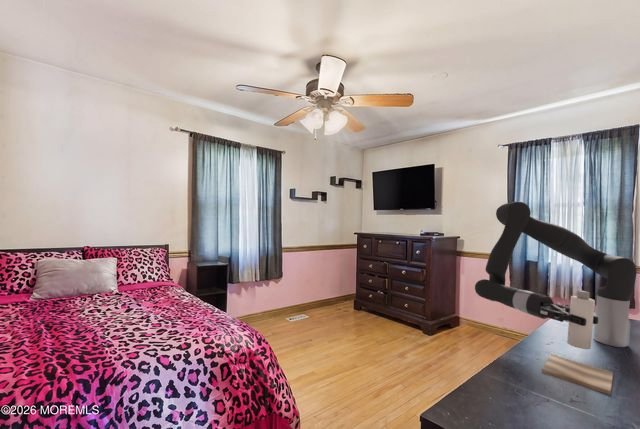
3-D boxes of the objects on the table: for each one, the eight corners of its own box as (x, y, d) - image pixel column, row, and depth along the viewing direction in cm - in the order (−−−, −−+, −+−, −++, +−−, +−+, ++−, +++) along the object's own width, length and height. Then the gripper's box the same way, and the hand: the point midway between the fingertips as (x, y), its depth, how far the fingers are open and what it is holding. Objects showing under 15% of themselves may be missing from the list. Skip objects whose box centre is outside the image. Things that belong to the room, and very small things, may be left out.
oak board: (550, 356, 104) (551, 353, 104) (612, 375, 93) (613, 372, 93) (541, 371, 93) (542, 368, 93) (610, 395, 83) (610, 391, 83)
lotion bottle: (579, 341, 96) (583, 289, 96) (595, 349, 91) (600, 294, 90) (562, 340, 96) (566, 288, 95) (578, 349, 90) (582, 293, 90)
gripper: (519, 293, 103) (578, 310, 88) (546, 291, 109) (606, 307, 93) (517, 316, 104) (575, 337, 88) (544, 312, 109) (604, 332, 94)
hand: (591, 321), depth 91 cm, fingers closed on lotion bottle, 5 cm apart
